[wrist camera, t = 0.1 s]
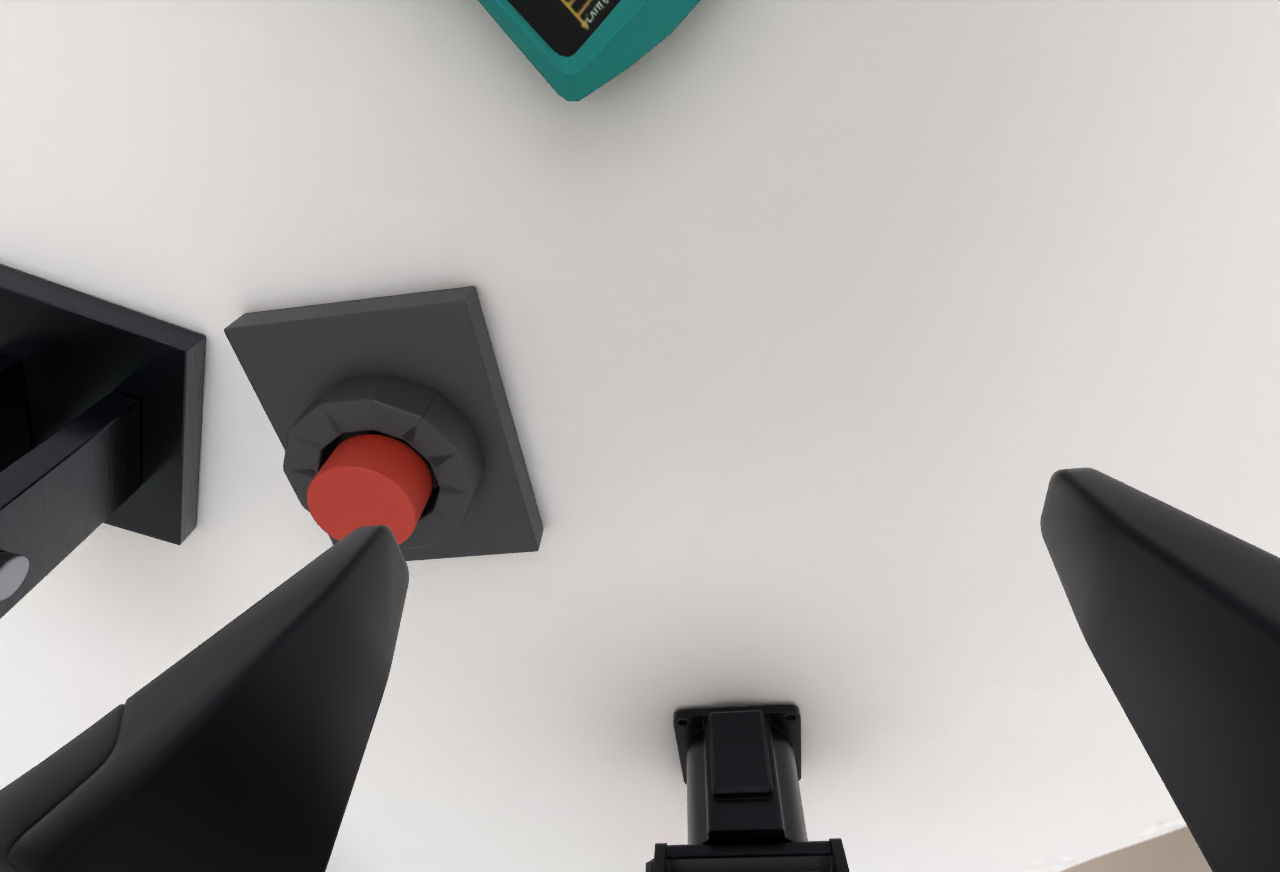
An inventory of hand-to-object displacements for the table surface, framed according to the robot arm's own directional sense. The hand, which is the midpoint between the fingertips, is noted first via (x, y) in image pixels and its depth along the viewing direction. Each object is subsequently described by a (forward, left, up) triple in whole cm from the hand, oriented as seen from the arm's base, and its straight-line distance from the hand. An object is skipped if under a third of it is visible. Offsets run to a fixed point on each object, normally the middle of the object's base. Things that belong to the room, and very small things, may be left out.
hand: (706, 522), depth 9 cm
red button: (-7, +12, -12) cm, 18 cm away
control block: (-7, +12, -15) cm, 20 cm away
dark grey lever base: (-4, +24, -15) cm, 28 cm away
